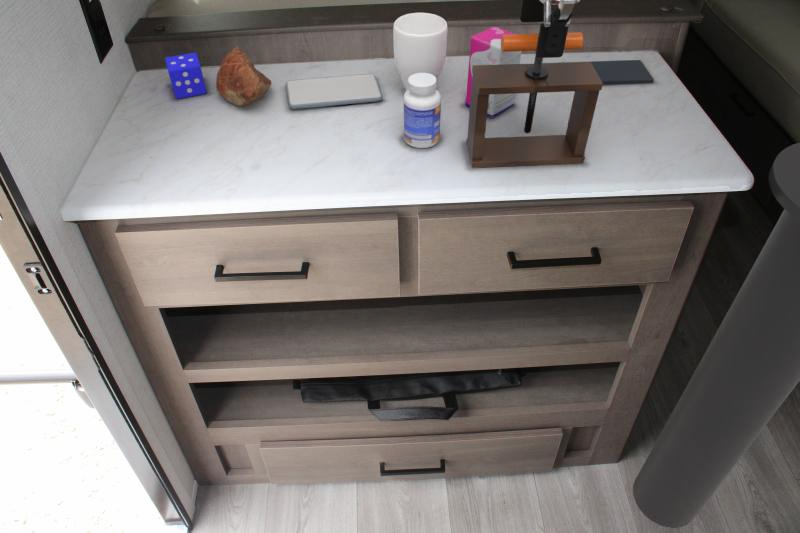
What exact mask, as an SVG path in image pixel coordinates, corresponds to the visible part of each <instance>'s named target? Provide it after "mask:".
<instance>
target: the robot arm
mask: <svg viewBox="0 0 800 533" xmlns="http://www.w3.org/2000/svg"><path fill="white" fill-rule="evenodd" d="M580 1H581V0H521V7H520V14H519V20H520V22H521V23H540V24H539V31H538V34H539V36H538V42H537V48H536V51H535V55H536V56H537V57H538V58H543V59H553V58H562V57H563V56H564V52H565V50H564V47H565V42H566V37H567V33H569V32H568V31H569V28H570V25H571V18H572V17H573V9H574V7H575V4H578V3H579V2H580ZM552 6H558V7H557V8H555V9H554V10H553V11H552Z"/></svg>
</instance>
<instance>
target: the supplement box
mask: <svg viewBox="0 0 800 533" xmlns="http://www.w3.org/2000/svg"><path fill="white" fill-rule="evenodd" d="M502 35H516V33H514V32H511V31H508V30H505V29H503V28H500V27H497V26H496V25H495V26H492V27H490V28H487V29H486V30H483V31H481V32H478V33H477V34H474V35H472V36H471V37H470V45H469V56H468V70H467V82H466V93H465V94H466V95H465V104H464V105H465V107H468V108H469V109H470V100H471V88H472V76H473V73H472V67H473V65H502V64H521V59H522V52H523V51H510V52H502V50H501V37H502ZM516 95H517V93H516V94H489V102H488V111H487V118H490V119H494V118H496V117H498V116H500V115H501V114H502V113H504V112H506V111H508V110H510V109H511V108H513V107H514V106H515V102H516Z"/></svg>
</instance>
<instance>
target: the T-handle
mask: <svg viewBox="0 0 800 533" xmlns="http://www.w3.org/2000/svg"><path fill="white" fill-rule="evenodd" d="M515 34H516V33H515ZM538 36H539V33H521V34H520V33H519V34H516V35H502V37H501V50H502V52H510V51H522V52H536V48H537V42H538ZM583 44H584V35H583V33H582V32H581V31H580V32H567V37H566V42H565V47H564V51H565V50H581V49H582V47H583ZM543 61H544V58H538V57H537V56H536V54H535V57H534V62H533V64H534V66H531V67H528V68H527V69H526V70H525V75H526V76H527V77H528V78H530V79H534V80H542V79H545V78H547V77H548V70H547V69H545V68H543V67H542V63H543ZM537 97H538V93H528V100H527V108H526V114H525V121H524V127H523V132H524V134H527V135H528V134H530V133H531V132H532V127H533V121H534V116H535V109H536V103H537Z"/></svg>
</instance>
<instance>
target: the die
mask: <svg viewBox="0 0 800 533" xmlns="http://www.w3.org/2000/svg"><path fill="white" fill-rule="evenodd" d="M164 60H165V64H166V68H167V72H168V75H169V80H170V83H171V87H172V90H173V93H174V97H175V99H176V100H180V99H186V98H191V97H195V96H196V97H198V96H202V95H206V94H207V93H208V91H207V88H206V82H205V79H204V75H203V71H202V67H201V63H200V60H199V57H198V54H197V53H196V52H189V53H185V54H184V53H183V54H179V55H172V56H166V57H165V58H164Z"/></svg>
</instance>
